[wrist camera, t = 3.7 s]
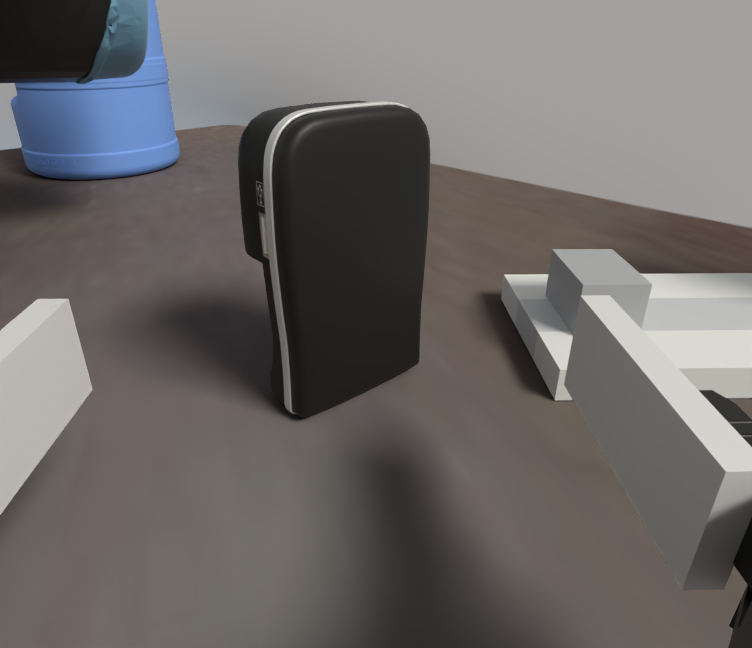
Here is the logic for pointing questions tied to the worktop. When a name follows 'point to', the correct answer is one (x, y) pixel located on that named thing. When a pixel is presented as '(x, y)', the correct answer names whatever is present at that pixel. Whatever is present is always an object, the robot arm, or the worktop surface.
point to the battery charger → (337, 243)
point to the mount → (639, 316)
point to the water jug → (100, 121)
